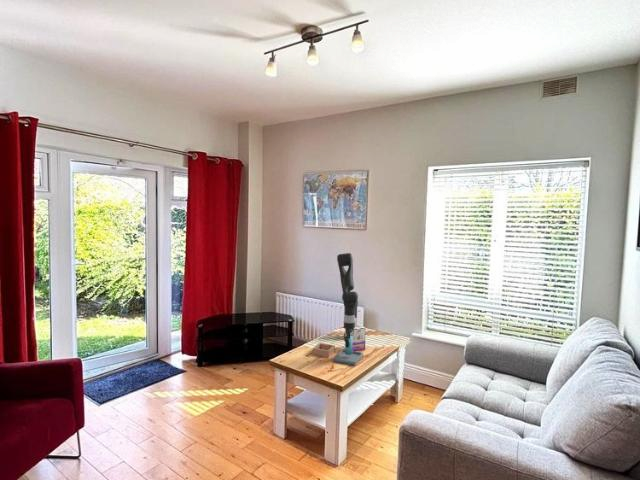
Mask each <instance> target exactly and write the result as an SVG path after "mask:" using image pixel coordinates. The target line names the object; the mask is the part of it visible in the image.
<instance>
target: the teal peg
mask: <svg viewBox="0 0 640 480" xmlns="http://www.w3.org/2000/svg"><path fill="white" fill-rule="evenodd" d="M348 337H349V336H348ZM352 344H353V336H351V337H350V340H349V347H346V342H345V341H344V349H345V354H346V355H352Z"/></svg>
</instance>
